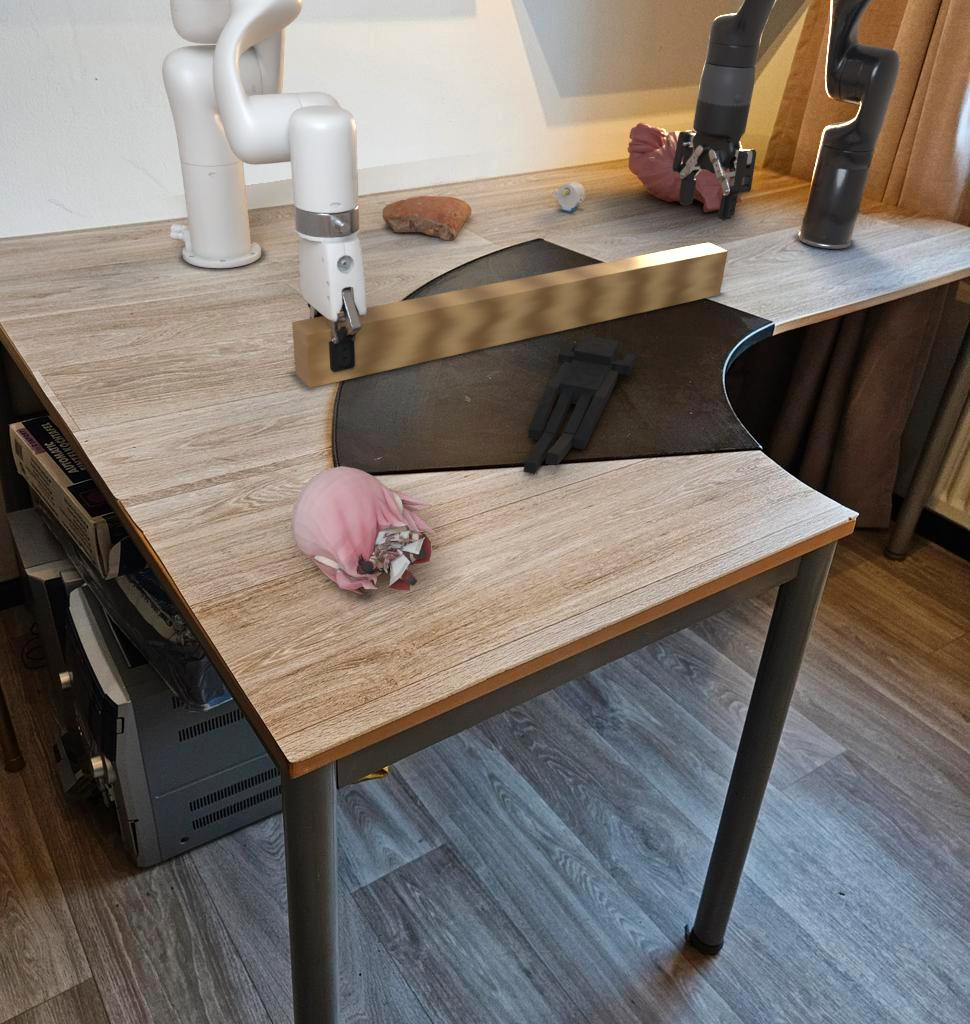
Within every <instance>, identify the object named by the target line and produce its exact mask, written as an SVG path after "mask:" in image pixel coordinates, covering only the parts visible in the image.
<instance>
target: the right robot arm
mask: <svg viewBox="0 0 970 1024" xmlns="http://www.w3.org/2000/svg"><path fill="white" fill-rule="evenodd" d="M872 1H873V0H830V21H829V33H828V42H827V51H826V52H827V53H826V62H825V75H824V82H825V83H824V84H825V85H824V86H825V91H826V93H827V96H828V97H829V98H830V99H831V100H834V101H837V102H840V103H845V104H848V105H849V104H850V105H854V106H859V108H858V111H857V114H856V115H855V117H853V118H851V119H849V120H845V121H840V122H834V123H830V124H827V125H826V126H825V127H824V129H823V131H822V133H821V139H820V144H819V148H818V151H817V156H816V160H815V166H814V169H813V173H812V179H811V183H810V187H809V192H808V195H807V201H806V204H805V209H804V212H803V215H802V217H801V226H800V231H799V233H798V237H797V238H798V240H799V241H800V242H801V243H803V244H805V245H808V246H811V247H814V248H819V249H825V250H842V249H846V248H848V247H850V246H851V243H852V237H853V233H854V230H855V226H856V222H857V218H858V214H859V211H860V207H861V203H862V199H863V197H864V196H863V195H864V192H865V187H866V184H867V180H868V176H869V173H870V169H871V164H872V161H873V157H874V153H875V149H876V147H877V146H876V145H877V142H878V139H879V136H880V134H881V132H882V129H883V127H884V122H885V119H886V116H887V112H888V109H889V106H890V102H891V100H892V97H893V94H894V92H895V91H894V90H895V87H896V84H897V81H898V77H899V72H900V64H901V63H900V56H899V53H898V52H897V51H896V50H895V49H892V48H887V47H882V46H876V45H869V44H862V43H860V42H859V36H858V35H859V28H860V27H859V26H860V22H861V19H862V17H863V15H864V13H865V12H866V10H867V9H868V7H869V6H870V4H871V3H872ZM776 2H777V0H743V2H742V4H741V6H740V8H739V9H738V11H737V12H736V13H729V14H723V15H719V16H717V17H716V18H715V19H714V20H713V21H712V24H711V25H710V30H709V36H708V42H707V48H706V55H705V61H704V65H703V69H702V73H701V77H700V79H699V80H700V81H699V88H698V92H697V93H698V94H697V98H696V99H697V100H696V106H695V112H694V118H693V126H692V128H693V129H691V130H684V131H680V133H679V137H678V142H677V147H676V152H675V157H674V162H673V171H674V172H678V173H679V174H680V178H681V179H682V180H681V186H680V193H679V199H680V202H679V204H680V205H683V206H689V205H691V204H693V202H694V199H693V198H694V192H695V186H696V179H694V177H696V176H697V175H698V173H699V172H700V171H701V170H702V169H703V170H708V171H710V172H711V173H714V174H716V177H717V180H718V181H720V182H721V185H722V189H723V192H724V194H723V195H722V199H721V204H720V209H719V210H718V216H717V218H718V219H719V220H720V221H724V222H725V221H728V220H731V219H732V218H733V217H734V215H735V212H736V207H737V204H738V203H737V198H738V195H739V194H740V195H741V194H747V193H750V192H751V191H752V187H753V186H752V185H753V180H754V179H753V178H754V173H755V166H756V158H757V150H756V149H754V148H752V149H743V148H742V149H741V148H740V143H741V139H742V138H743V136H744V134H745V133H746V130H747V125H748V120H749V114H750V109H751V103H752V100H753V99H752V98H753V92H754V87H755V81H756V67H757V61H758V56H759V51H760V45H761V41H762V36H763V32H764V30H765V27H766V25H767V23H768V20H769V18H770V17H771V13H772V10H773V8H774V6H775V3H776ZM694 130H695V131H696V132H695V131H694ZM693 148H694V151H695V152H694V153H693ZM692 153H693V154H692ZM683 156H684V158H683V163H681V161H682V157H683ZM736 159H737V160H736ZM728 168H729V170H730V172H725V171H727V170H728ZM743 178H744V183H743ZM729 180H730V182H731V185H732V186H730V182H729ZM742 183H743V184H742Z"/></svg>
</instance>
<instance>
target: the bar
mask: <svg viewBox="0 0 970 1024" xmlns="http://www.w3.org/2000/svg"><path fill="white" fill-rule="evenodd" d="M728 252H729V250H727V249H724V248H722V247H719V246H718V245H715V244H713V243H711V242H704V243H699V244H694V245H689V246H683V247H678V248H672V249H667V250H661V251H658V252H652V253H646V254H641V255H636V256H631V257H626V258H621V259H615V260H610V261H604V262H599V263H594V264H588V265H584V266H578V267H574V268H573V267H572V268H567V269H562V270H558V271H553V272H547V273H542V274H537V275H531V276H526V277H519V278H515V279H510V280H505V281H499V282H495V283H494V282H493V283H489V284H484V285H478V286H473V287H467V288H463V289H457V290H453V291H452V290H451V291H447V292H442V293H437V294H432V295H426V296H422V297H421V296H420V297H415V298H411V299H406V300H400V301H395V302H389V303H384V304H379V305H375V306H374V305H373V306H369V307H368V306H367V312H366V315H365V316H363V317H361V316H359V315H358V317H359V320H360V324H361V330H360V331H358V332H357V333H356V335H355V336H356V338H355V340H354V352H355V366H354V367H353V368H350V369H346V370H341V371H337V372H333V371H332V370H331V369H330V354H329V342H330V341H332V338H331V331H330V324H329V319H327V318H326V317H325V316H321V317H316V318H311V319H310V318H305V319H301V320H296V321H295V320H294V321H292V322H291V328H292V341H293V342H292V343H293V354H294V368H295V370H294V371H295V375H296V376H297V377H298V378H299V379H300V380H301V381H302V382H303V383H304V384H305V385H306V386H307V387H308V388H309V389H312V388H316V387H320V386H324V385H329V384H334V383H338V382H343V381H346V380H347V381H348V380H351V379H356V378H360V377H365V376H368V375H373V374H377V373H383V372H387V371H390V370H395V369H401V368H405V367H409V366H413V365H418V364H422V363H426V362H430V361H434V360H435V361H436V360H440V359H443V358H448V357H452V356H457V355H462V354H466V353H470V352H474V351H478V350H479V351H480V350H483V349H488V348H491V347H496V346H500V345H501V346H502V345H505V344H510V343H515V342H519V341H524V340H527V339H531V338H532V339H533V338H536V337H537V338H538V337H540V336H545V335H549V334H554V333H559V332H563V331H567V330H572V329H576V328H580V327H584V326H589V325H594V324H597V323H603V322H607V321H612V320H616V319H620V318H624V317H628V316H633V315H637V314H642V313H647V312H650V311H655V310H660V309H663V308H668V307H673V306H678V305H681V304H686V303H690V302H695V301H699V300H703V299H708V298H712V297H717V296H720V295H721V290H722V283H723V279H724V273H725V268H726V263H727V259H728ZM341 315H344V312H339V313H338V316H341ZM345 324H346V321H345V322H340V323H337V327H338V331H339V329H340V328H341V327H343V326H345Z"/></svg>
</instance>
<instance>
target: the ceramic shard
mask: <svg viewBox="0 0 970 1024" xmlns="http://www.w3.org/2000/svg"><path fill="white" fill-rule="evenodd" d="M471 215H472V207H471V205H470V204H469V203H468V202H466V201H465V200H463V199H460V198H457V197H454V196H445V195H444V196H440V195H420V196H415V197H414V196H413V197H409V198H406V199H401V200H397V201H396V200H395V201H394V202H391V203H388V204H386V206H384V208H383V209H382V219H383V220H384V222H385V224H386V225H387V227H389V228H390V229H392V230H393V232H395V233H423V234H425V235H428V236H430V237H431V236H432V237H437V238H440V239H442V240H444V241H448V242H449V241H453V240H455V239H456V236H457V235H458V233H459V232H460V230H461V229H462V227H463V225H464V224H465V223H466V221H467V220H468V219H469V217H470V216H471Z"/></svg>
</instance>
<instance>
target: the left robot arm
mask: <svg viewBox="0 0 970 1024" xmlns="http://www.w3.org/2000/svg"><path fill="white" fill-rule="evenodd" d="M303 2H304V1H303V0H169V5H170V6H169V7H170V15H171V21H172V24H173V28H174V30H175V31H176V33H177V34H178V36H179V37H181V39H183V40H185V41H187V42H190V43H193V44H196V45H186V46H182V47H178V48H176V49H174V50H172V51H170V52H168V54H167V55H166V56H165V58H164V59H163V62H162V67H161V70H162V71H161V73H162V74H161V75H162V80H163V85H164V89H165V92H166V93H165V94H166V96H167V99H168V103H169V107H170V111H171V114H172V118H173V122H174V127H175V133H176V134H175V135H176V138H177V139H176V140H177V147H178V155H179V160H180V168H181V176H182V183H183V192H184V200H185V208H186V213H187V214H186V216H187V223H188V225H185V224H180V223H172V225H171V226H170V233H169V237H170V239H171V240H175V241H183V242H184V247H183V248H182V250H181V253H182V258H183V260H184V261H185V262H186V263H188V264H190V265H193V266H196V267H199V268H206V269H232V268H239V267H243V266H247V265H249V264H252V263H255V262H257V261H258V260H259V259H260V258H261V257H262V247H261V246H260V245H259V243H257V242H256V241H253V240H251V230H250V220H249V210H248V209H249V208H248V198H247V197H248V196H247V188H246V178H245V167H244V164H248V165H254V166H256V165H268V164H269V165H270V164H281V163H290V168H291V183H292V199H293V200H292V201H293V214H294V227H295V231H294V232H295V234H296V235H297V236H298V271H299V284H300V285H299V286H300V291H301V296H302V298H303V299H304V300H305V302H307V306H308V308H309V319H311V318H316V317H321V316H325V317H326V318H327V319H329V324H330V331H331V338H332V341H330V342H329V354H330V369H331V370H332V371H333V372H337V371H341V370H346V369H350V368H353V367H354V366H355V352H354V340H355V338H356V336H355V335H356V333H357V332H358V331H360V330H361V324H360V320H359V317H358V315H359V316H361V317H363V316H365V315H366V312H367V308H368V305H367V290H366V289H367V287H366V278H365V266H364V260H363V254H362V247H361V243H360V238H359V237H358V236H359V235H360V210H359V204H360V203H359V178H358V176H359V175H358V174H359V173H358V141H357V140H358V139H357V123H356V119H355V117H354V116H353V114H352V113H351V112H350V111H349V110H347V109H346V108H342V106H341V105H340V103H339V102H338V100H337V99H336V98H335V97H334V96H333V95H331V94H329V93H326V92H322V91H308V92H306V91H305V92H283V87H284V68H285V67H284V65H285V45H286V44H285V43H286V28H287V27H288V26H289V25H290V24H292V23H293V22H294V21H296V19H297V18H298V17H299V15H300V14H301V11H302V9H303ZM197 44H198V45H197ZM342 312H344V315H341V316H338V313H342ZM345 321H346V324H345V326H343V327H341V328H340V329H339V331H338V327H337V323H340V322H345Z"/></svg>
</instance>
